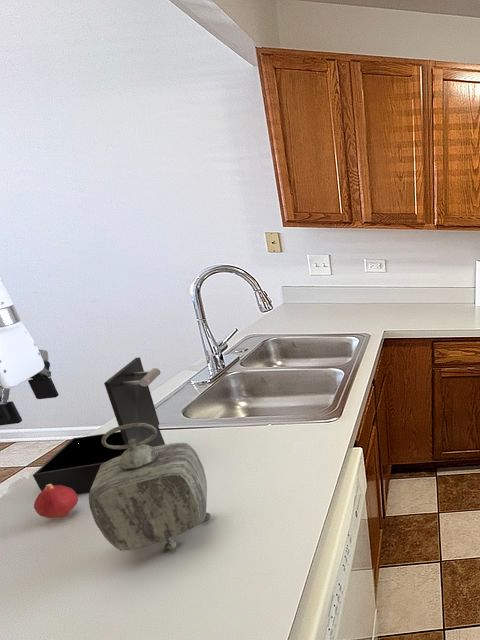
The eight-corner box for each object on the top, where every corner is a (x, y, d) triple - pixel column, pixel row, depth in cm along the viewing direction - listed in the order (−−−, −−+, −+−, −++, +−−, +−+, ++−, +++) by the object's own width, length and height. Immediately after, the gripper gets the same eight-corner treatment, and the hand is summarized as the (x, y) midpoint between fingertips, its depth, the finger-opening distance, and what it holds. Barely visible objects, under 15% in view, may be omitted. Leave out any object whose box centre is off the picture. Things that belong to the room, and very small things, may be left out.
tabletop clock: (218, 510, 80) (181, 402, 70) (218, 541, 73) (177, 426, 63) (126, 541, 73) (72, 425, 63) (117, 578, 66) (54, 455, 56)
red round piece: (35, 524, 77) (16, 492, 74) (70, 503, 82) (54, 472, 79) (57, 530, 76) (39, 497, 73) (91, 508, 81) (75, 477, 78)
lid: (103, 382, 79) (137, 380, 80) (135, 357, 91) (164, 355, 93) (129, 457, 85) (160, 453, 87) (155, 424, 97) (182, 421, 99)
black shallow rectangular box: (45, 500, 83) (32, 475, 81) (83, 460, 95) (73, 438, 93) (142, 483, 88) (132, 459, 85) (166, 447, 100) (158, 425, 98)
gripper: (-4, 308, 72) (37, 391, 79) (-98, 338, 57) (-38, 439, 63) (48, 305, 74) (83, 386, 81) (-30, 333, 59) (22, 431, 65)
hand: (30, 409), depth 72 cm, fingers open, 9 cm apart
